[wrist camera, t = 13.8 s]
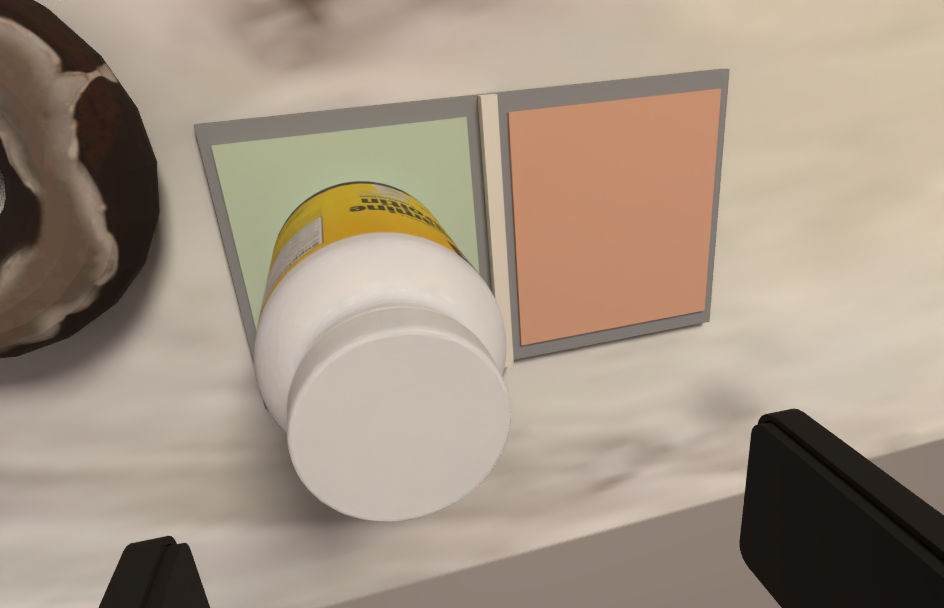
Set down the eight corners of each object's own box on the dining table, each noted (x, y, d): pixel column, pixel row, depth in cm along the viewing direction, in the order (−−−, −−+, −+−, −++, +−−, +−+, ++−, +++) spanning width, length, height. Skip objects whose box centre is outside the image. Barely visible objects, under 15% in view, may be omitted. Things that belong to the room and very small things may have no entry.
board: (723, 68, 24) (737, 69, 23) (703, 318, 29) (715, 325, 28) (195, 124, 20) (191, 126, 20) (265, 403, 25) (264, 415, 24)
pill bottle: (474, 282, 24) (600, 452, 14) (338, 369, 24) (362, 604, 14) (387, 140, 22) (462, 220, 11) (232, 238, 21) (163, 411, 11)
